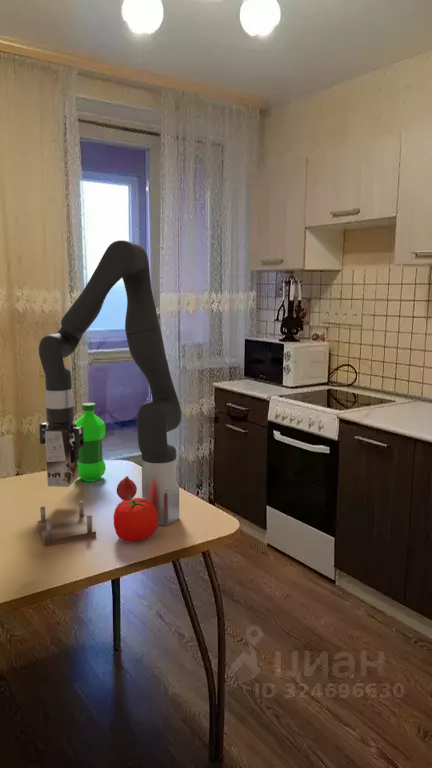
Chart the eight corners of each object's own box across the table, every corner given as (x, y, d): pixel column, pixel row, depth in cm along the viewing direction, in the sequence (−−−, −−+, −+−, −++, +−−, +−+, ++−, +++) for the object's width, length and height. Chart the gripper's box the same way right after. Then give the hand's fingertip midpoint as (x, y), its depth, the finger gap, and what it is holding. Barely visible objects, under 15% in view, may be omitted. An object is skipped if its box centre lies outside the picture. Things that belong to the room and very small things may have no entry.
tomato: (129, 525, 153) (128, 488, 151) (167, 533, 148) (166, 495, 146) (102, 543, 142) (101, 503, 140) (141, 553, 137) (141, 512, 136)
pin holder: (96, 537, 145) (95, 516, 144) (44, 546, 140) (43, 524, 139) (85, 518, 157) (85, 499, 156) (37, 526, 152) (36, 506, 151)
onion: (113, 503, 167) (112, 477, 166) (123, 497, 173) (122, 471, 171) (130, 506, 165) (130, 480, 164) (140, 500, 170) (140, 474, 169)
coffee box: (69, 487, 160) (66, 430, 157) (47, 486, 161) (43, 430, 158) (79, 476, 169) (76, 423, 166) (58, 476, 170) (55, 422, 167)
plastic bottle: (75, 485, 182) (72, 408, 178) (75, 474, 192) (72, 401, 188) (107, 483, 184) (105, 406, 180) (105, 472, 194) (104, 400, 190)
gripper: (88, 404, 161) (91, 460, 164) (49, 400, 168) (52, 454, 170) (70, 409, 155) (73, 467, 158) (30, 405, 161) (34, 461, 164)
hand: (62, 460), depth 164 cm, fingers closed on coffee box, 8 cm apart
